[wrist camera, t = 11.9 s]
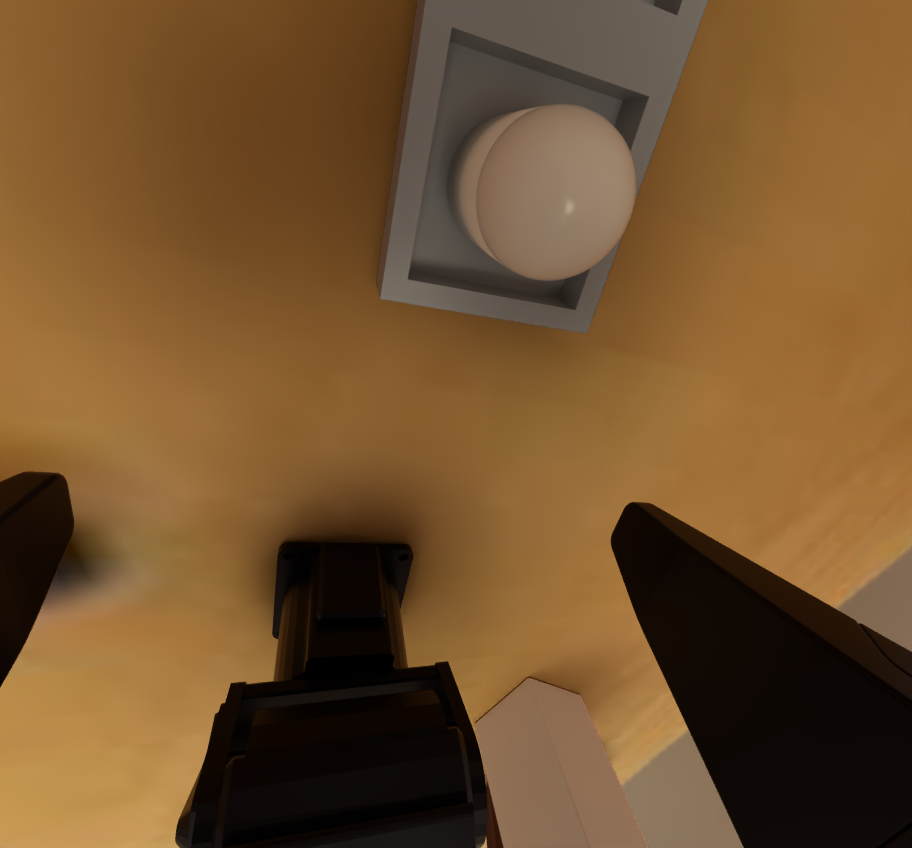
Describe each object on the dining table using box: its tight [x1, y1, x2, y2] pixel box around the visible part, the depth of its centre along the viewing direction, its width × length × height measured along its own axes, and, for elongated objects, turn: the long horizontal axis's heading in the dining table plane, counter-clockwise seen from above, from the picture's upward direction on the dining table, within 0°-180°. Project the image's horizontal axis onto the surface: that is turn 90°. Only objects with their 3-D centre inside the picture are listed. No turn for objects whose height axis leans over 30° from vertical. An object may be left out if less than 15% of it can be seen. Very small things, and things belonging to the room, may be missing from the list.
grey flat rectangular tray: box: [376, 0, 708, 334], centre depth 14 cm, size 17×8×2 cm, turn 167°
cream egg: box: [447, 104, 636, 281], centre depth 14 cm, size 4×4×6 cm
